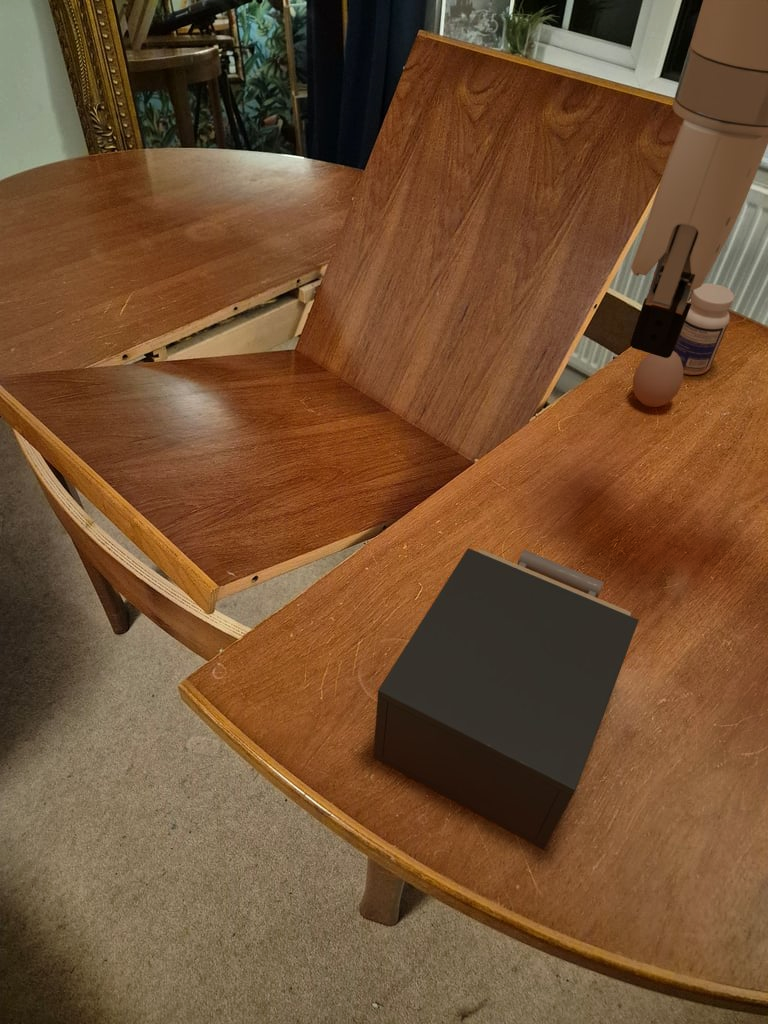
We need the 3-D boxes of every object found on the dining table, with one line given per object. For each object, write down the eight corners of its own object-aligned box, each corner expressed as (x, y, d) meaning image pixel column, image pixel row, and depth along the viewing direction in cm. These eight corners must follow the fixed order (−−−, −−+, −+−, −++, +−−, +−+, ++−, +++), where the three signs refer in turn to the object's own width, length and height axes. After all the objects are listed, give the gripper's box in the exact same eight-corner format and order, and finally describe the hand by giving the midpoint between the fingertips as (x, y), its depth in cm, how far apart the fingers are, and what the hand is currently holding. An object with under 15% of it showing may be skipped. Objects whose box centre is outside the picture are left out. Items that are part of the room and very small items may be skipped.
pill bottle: (677, 345, 97) (704, 275, 90) (717, 364, 95) (748, 294, 88) (654, 362, 94) (680, 290, 87) (695, 382, 92) (725, 310, 85)
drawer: (486, 575, 67) (499, 515, 62) (619, 632, 64) (646, 574, 58) (394, 731, 56) (401, 675, 51) (549, 811, 52) (574, 761, 47)
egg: (678, 401, 89) (699, 349, 84) (661, 423, 86) (682, 370, 80) (636, 384, 91) (655, 332, 86) (619, 405, 88) (636, 352, 83)
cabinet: (454, 620, 65) (467, 547, 58) (605, 689, 61) (639, 619, 54) (372, 757, 56) (377, 690, 49) (543, 850, 51) (575, 790, 45)
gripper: (705, 51, 51) (630, 294, 64) (650, 110, 42) (575, 381, 55) (820, 71, 49) (718, 319, 62) (790, 139, 39) (677, 414, 52)
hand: (651, 347), depth 58 cm, fingers closed
